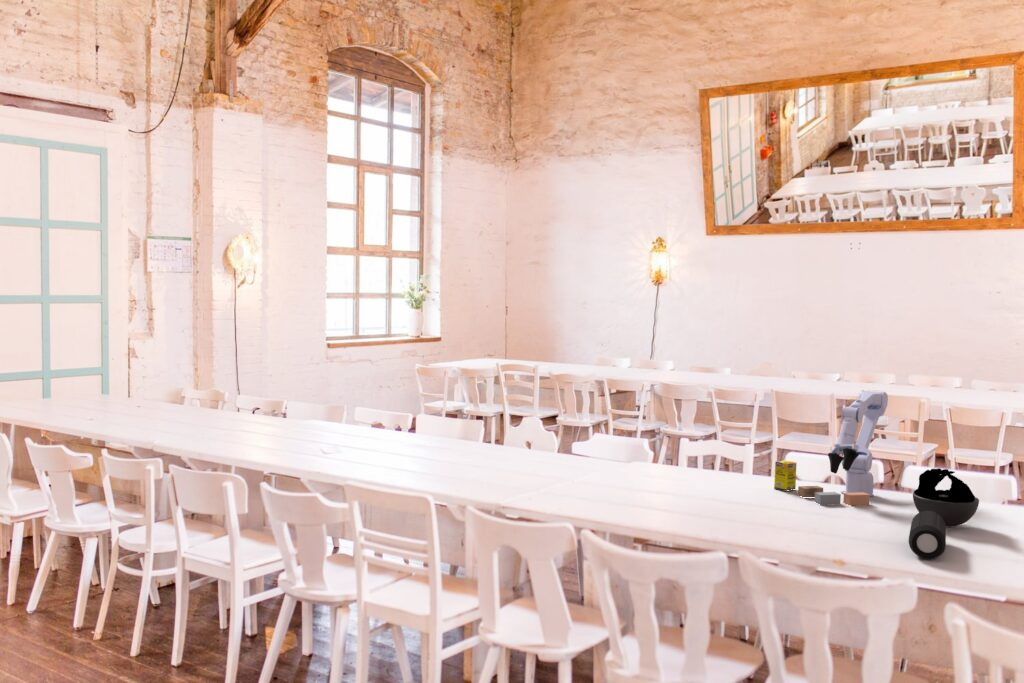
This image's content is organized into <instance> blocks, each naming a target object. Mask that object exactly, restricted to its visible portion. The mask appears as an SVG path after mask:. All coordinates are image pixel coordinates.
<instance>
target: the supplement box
mask: <svg viewBox="0 0 1024 683" xmlns="http://www.w3.org/2000/svg"><path fill="white" fill-rule="evenodd" d="M774 468H775V469H774V487H773V489H774V490H777V489H779V490H778V491H782V490H791V489H795V490H796V486H797V483H796V482H797V462H795V461H790V460H785V459H784V460H778V461H777V460H776V461H775V465H774ZM791 491H792V490H791Z"/></svg>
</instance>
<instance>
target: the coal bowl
mask: <svg viewBox="0 0 1024 683" xmlns="http://www.w3.org/2000/svg"><path fill="white" fill-rule="evenodd" d="M954 473H956V471H953V470H949V469H946V468H944V469H941V468H931V469H926V470H924V471H923V472H922V473H921V474H919V477H918V486H917V488H916V489H914V490H913V492H912V500H913V503H914V507H915V509H916V510H917V512H918V513H920V512H922V511H933V512H935V513H937V514H939V515H940V516H941V517H942V518H943V519H944V521H945V524H946V528H953V527H958V526H961V525H963V524H965V523H967V522H969V520H971V519H972V518H973V517H974V515H975V514H976V512H977V510H978V508H979V504H980V499H979V498H978V497H977V496H975V494H974V493H973V492H972V490H971V489H970V487H969V485H968V484H967V483H965V482H964V481H963V480H962V479H960V478H958V477H957V476H955V475H954ZM946 477H947V478H948V479H949V480H950V481H951V484H950V488H949V489H945V490H944V489H936V487H937V486H938V485H939V484H940V483H941V482H942V481H943V480H944V479H945V478H946Z"/></svg>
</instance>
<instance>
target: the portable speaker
mask: <svg viewBox="0 0 1024 683" xmlns="http://www.w3.org/2000/svg"><path fill="white" fill-rule="evenodd" d="M909 528H910V529H909V535H908V546H909V548H910V549H911V551H912V553H914V554H915V555H916V556H917V557H919V558H921V559H923V560H924V559H925V560H934V559H937V558H938V557H940V556H941V555H943V553H944V552H945V550H946V548H947V547H946V546H947V545H946V544H947V541H946V540H947V527H946V524H945V521H944V519H943V518H942V517H941V516H940V515H939V514H937V513H935V512H933V511H922V512H920V513H919V512H918V513H917V514H915V515H914V517H913V518H912V520H911V523H910V527H909Z"/></svg>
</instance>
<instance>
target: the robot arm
mask: <svg viewBox="0 0 1024 683" xmlns="http://www.w3.org/2000/svg"><path fill="white" fill-rule="evenodd" d="M858 394H859V395H858V399H856V400H854V401H853V402H852V403H851V404H850V405H849V406H845V407H843V408H842V409H841V416H840V425H841V426H840V431H839V435H838V438H837V439H838V440H837V443H834V444H833V449H831V450H830V452H828V453H827V456H828V459H829V463H830V466H829V468H830V472H831V473H833V474H837V473H838V470H839V468H840V465H841V466H842V469H843V470H844V471H845V473H846V475H845V490H841V491H840V494H841V493H842V494H844V493H858V492H864V493H867V494H869V495H870V497H874V496H875V495H874V476H873V474H872V472H870V471H871V469H872V465H873V458H874V457H873V454H872V452H871V451H870V449H869V447H870V444H871V443H872V442H871V441H872V439H873V435H874V433H875V429H876V427H877V424H878V422H879V418H880V417H883V416H884V414H885V413H886V410H887V408H888V401H889V396H888V393H887V392H886V391H874V390H873V391H871V390H864V389H862V390H861V391H860V392H859V393H858ZM861 423H862V424H861ZM859 424H861V427H860V429H859V433H858V436H857V432H858V427H859ZM856 437H857V438H856ZM841 455H842V456H841Z"/></svg>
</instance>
